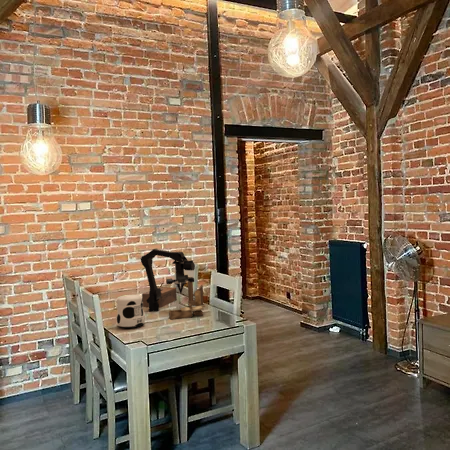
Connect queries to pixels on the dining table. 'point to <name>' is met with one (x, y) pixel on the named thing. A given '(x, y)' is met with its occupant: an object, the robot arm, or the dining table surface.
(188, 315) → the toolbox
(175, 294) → the tissue box cover
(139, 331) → the dining table surface
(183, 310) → the lid
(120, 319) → the milk container
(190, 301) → the wooden block
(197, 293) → the key peg
